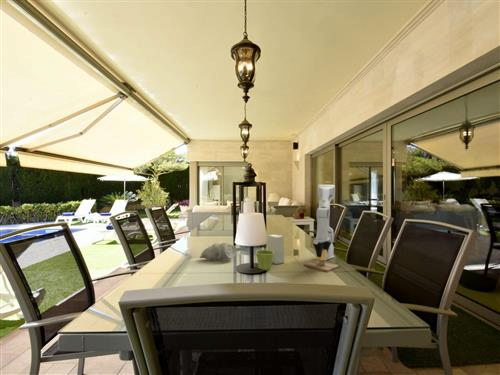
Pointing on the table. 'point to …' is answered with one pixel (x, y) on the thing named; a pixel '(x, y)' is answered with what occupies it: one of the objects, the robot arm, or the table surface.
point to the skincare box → (276, 248)
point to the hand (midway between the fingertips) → (321, 255)
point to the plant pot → (264, 259)
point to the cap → (323, 256)
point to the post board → (322, 265)
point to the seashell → (219, 252)
